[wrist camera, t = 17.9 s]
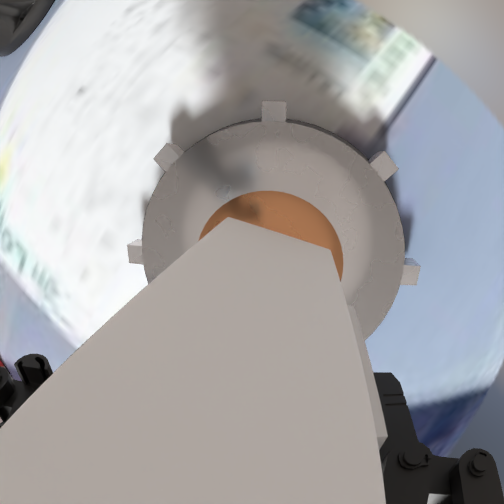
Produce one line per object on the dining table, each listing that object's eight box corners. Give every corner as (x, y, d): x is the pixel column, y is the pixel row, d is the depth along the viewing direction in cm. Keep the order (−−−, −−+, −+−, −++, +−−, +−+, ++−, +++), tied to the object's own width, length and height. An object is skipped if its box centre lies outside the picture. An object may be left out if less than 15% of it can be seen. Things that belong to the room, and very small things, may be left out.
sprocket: (109, 181, 21) (49, 194, 14) (356, 77, 16) (382, 40, 9) (206, 382, 25) (183, 436, 19) (421, 329, 20) (451, 382, 14)
